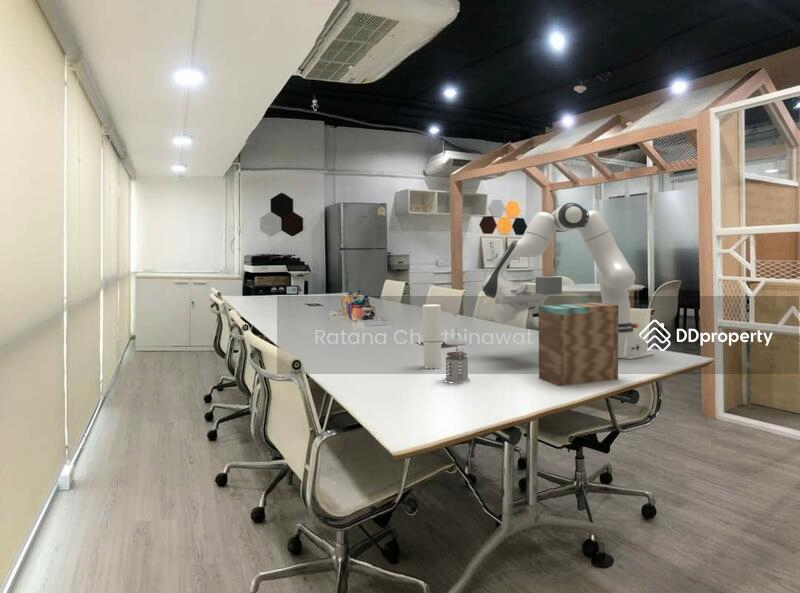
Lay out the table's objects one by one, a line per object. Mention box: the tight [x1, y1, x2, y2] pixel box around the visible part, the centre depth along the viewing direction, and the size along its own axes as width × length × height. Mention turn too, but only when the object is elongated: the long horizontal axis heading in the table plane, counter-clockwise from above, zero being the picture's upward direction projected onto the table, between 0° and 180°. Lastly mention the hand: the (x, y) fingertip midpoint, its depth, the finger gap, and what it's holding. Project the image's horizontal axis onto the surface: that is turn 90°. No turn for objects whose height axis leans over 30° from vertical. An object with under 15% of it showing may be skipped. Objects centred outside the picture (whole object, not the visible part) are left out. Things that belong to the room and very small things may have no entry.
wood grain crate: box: [538, 301, 619, 387], centre depth 185 cm, size 24×12×26 cm, turn 107°
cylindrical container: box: [422, 303, 443, 369], centre depth 211 cm, size 7×7×25 cm
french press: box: [444, 310, 471, 384], centre depth 187 cm, size 10×12×25 cm
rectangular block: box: [519, 276, 563, 295], centre depth 197 cm, size 7×20×6 cm, turn 17°
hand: (531, 286), depth 201 cm, fingers closed on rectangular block, 4 cm apart
